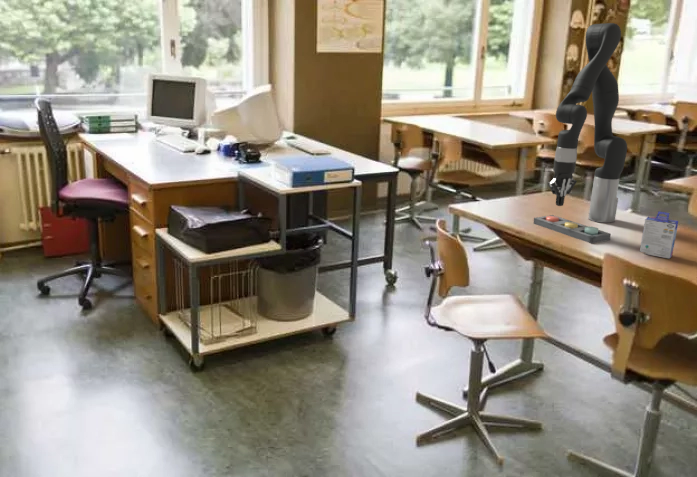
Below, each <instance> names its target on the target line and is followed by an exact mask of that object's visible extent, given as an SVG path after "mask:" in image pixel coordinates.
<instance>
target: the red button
mask: <svg viewBox="0 0 697 477" xmlns="http://www.w3.org/2000/svg"><path fill="white" fill-rule="evenodd" d="M546 216H547V217H546V220H547V221H550V222H558V221H559V218H558V217H559V216H557V217H555V216H556V215H554V216H549V215H546Z"/></svg>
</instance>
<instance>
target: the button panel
mask: <svg viewBox="0 0 697 477" xmlns="http://www.w3.org/2000/svg"><path fill="white" fill-rule="evenodd" d="M547 216H555V217H558V218H559V221H558V222H550V221H547V220H546V217H547ZM565 222H573V223H577V224H578V228H573V229H571V228H568V227H565ZM533 225H536V226H538V227H539V226H540V227H543V228H545V229H547V230H551V231H553V232H556V233H560V234H562V235H565V236H568V237H571V238H574V239H577V240H580V241H583V242H586V243H588V244H595V243H600V242H605V241H606V242H607V241H610V240H611V235H612V234H611V233H610V232H606V231H603V230H601V229H598V234H597V235H589V234H586V233H584V230H585V227H588V225H585V224H581V223H578V222H575V221H572V220H569V219H566V218H562V217H560V216H558V215H557V216H556V215H554V214H549V215H545V216H543V215H542V216H539V217H538V216H537V217H534V218H533Z"/></svg>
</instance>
